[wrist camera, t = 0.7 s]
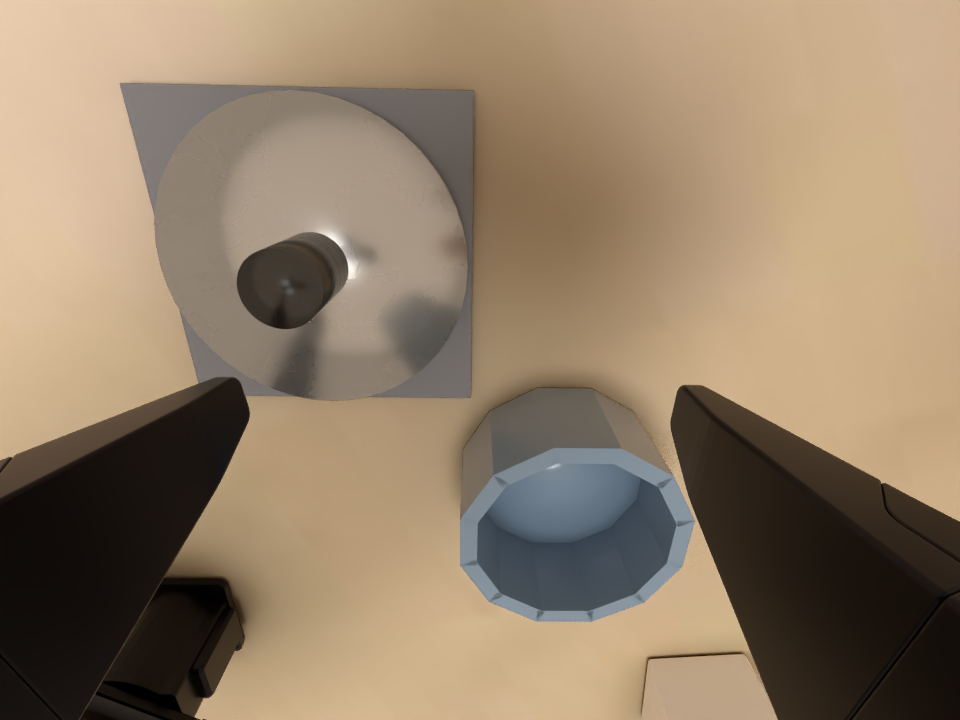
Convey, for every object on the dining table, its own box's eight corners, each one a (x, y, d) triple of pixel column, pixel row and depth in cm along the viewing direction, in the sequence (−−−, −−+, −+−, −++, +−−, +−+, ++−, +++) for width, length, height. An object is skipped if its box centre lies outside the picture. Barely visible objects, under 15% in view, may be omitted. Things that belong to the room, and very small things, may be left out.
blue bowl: (462, 539, 29) (460, 621, 24) (463, 386, 24) (460, 447, 19) (633, 540, 29) (667, 621, 24) (665, 389, 24) (714, 449, 19)
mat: (207, 390, 24) (202, 395, 24) (128, 84, 18) (119, 82, 18) (470, 393, 24) (470, 398, 24) (473, 91, 19) (473, 90, 18)
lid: (204, 391, 24) (143, 445, 19) (126, 89, 18) (15, 66, 14) (466, 394, 24) (465, 448, 19) (468, 96, 18) (466, 76, 14)
